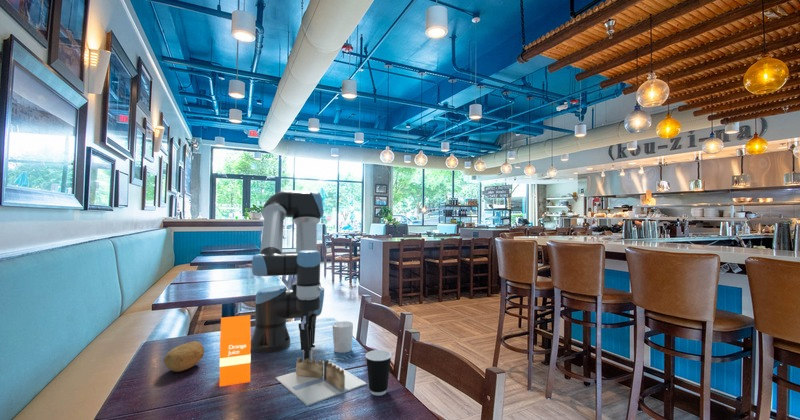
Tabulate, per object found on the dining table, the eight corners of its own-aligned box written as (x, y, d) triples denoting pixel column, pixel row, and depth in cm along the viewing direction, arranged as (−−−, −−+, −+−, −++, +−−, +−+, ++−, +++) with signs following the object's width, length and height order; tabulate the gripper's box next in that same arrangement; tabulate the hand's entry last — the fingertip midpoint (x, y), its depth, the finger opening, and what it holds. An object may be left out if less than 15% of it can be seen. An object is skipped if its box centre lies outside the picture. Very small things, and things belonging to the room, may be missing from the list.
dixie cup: (359, 391, 110) (359, 354, 110) (379, 383, 115) (380, 347, 115) (376, 401, 104) (376, 362, 104) (397, 392, 109) (397, 354, 110)
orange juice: (220, 376, 119) (221, 314, 119) (249, 372, 122) (250, 312, 123) (219, 386, 112) (220, 321, 112) (250, 381, 115) (251, 318, 116)
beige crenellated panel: (323, 376, 118) (323, 359, 118) (321, 377, 117) (322, 361, 117) (297, 373, 120) (298, 357, 120) (296, 374, 119) (296, 358, 119)
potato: (153, 376, 119) (154, 351, 119) (187, 359, 132) (187, 337, 132) (179, 379, 116) (179, 354, 117) (211, 362, 130) (211, 339, 130)
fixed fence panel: (323, 379, 117) (323, 360, 117) (326, 378, 118) (327, 359, 118) (340, 391, 109) (341, 371, 109) (344, 390, 110) (345, 370, 110)
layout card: (275, 378, 118) (275, 377, 118) (330, 362, 131) (330, 361, 131) (307, 406, 101) (307, 404, 101) (366, 384, 114) (366, 383, 114)
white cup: (348, 354, 139) (349, 327, 139) (329, 352, 140) (329, 326, 140) (355, 347, 146) (355, 321, 146) (336, 345, 148) (337, 320, 148)
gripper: (314, 302, 115) (313, 377, 115) (324, 293, 128) (323, 361, 127) (290, 301, 115) (289, 377, 115) (303, 292, 128) (302, 360, 128)
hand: (307, 368), depth 121 cm, fingers closed
